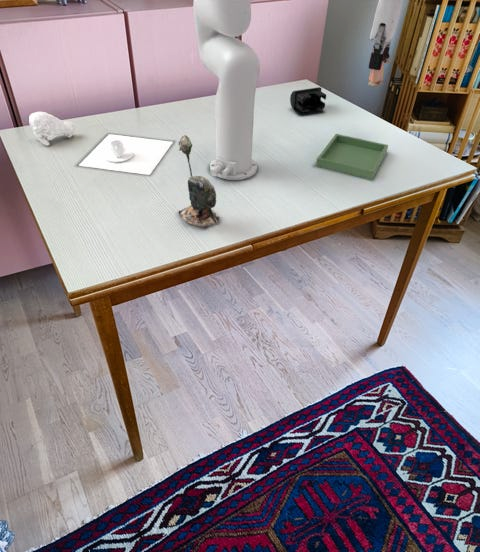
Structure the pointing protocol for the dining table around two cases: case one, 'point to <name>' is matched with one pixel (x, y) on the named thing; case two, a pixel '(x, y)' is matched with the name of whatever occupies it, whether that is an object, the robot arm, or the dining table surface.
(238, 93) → the robot arm
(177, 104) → the dining table surface
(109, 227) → the dining table surface
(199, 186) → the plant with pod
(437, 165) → the dining table surface
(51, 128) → the white animal figurine
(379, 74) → the grandmother figurine
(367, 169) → the tray
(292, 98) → the end cap
